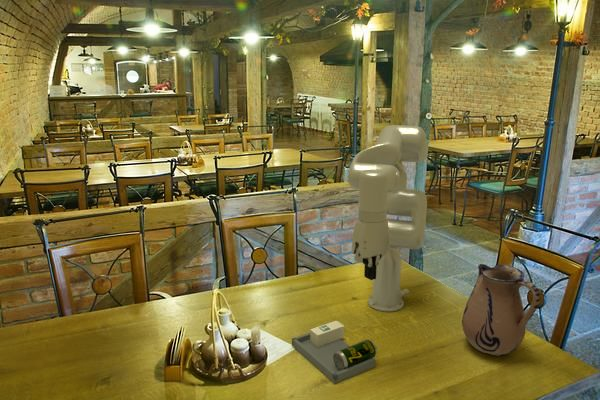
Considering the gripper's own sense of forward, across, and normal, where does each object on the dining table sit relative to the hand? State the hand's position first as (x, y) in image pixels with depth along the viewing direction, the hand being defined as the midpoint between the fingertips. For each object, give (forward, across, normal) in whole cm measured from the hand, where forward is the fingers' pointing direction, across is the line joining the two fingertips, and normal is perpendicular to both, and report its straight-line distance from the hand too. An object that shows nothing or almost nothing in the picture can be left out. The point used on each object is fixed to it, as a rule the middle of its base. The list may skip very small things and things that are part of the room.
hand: (370, 277), depth 136 cm
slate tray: (+25, +9, -6) cm, 27 cm away
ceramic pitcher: (+25, -35, +18) cm, 47 cm away
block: (+22, 0, -13) cm, 26 cm away
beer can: (+22, 0, +2) cm, 22 cm away
